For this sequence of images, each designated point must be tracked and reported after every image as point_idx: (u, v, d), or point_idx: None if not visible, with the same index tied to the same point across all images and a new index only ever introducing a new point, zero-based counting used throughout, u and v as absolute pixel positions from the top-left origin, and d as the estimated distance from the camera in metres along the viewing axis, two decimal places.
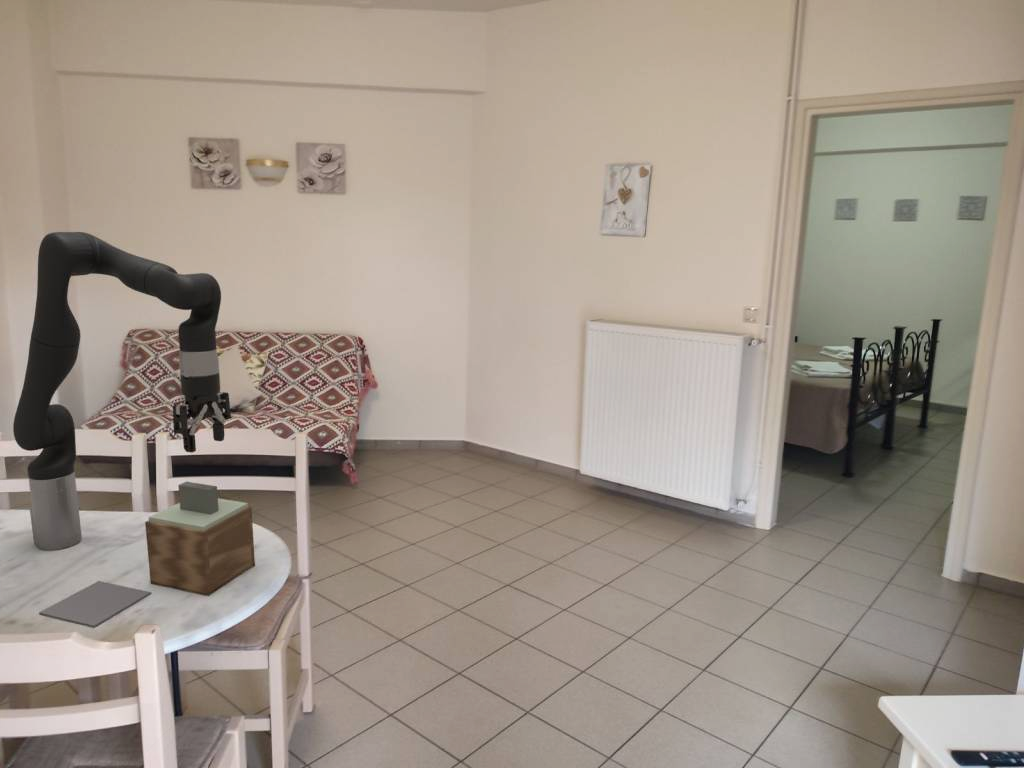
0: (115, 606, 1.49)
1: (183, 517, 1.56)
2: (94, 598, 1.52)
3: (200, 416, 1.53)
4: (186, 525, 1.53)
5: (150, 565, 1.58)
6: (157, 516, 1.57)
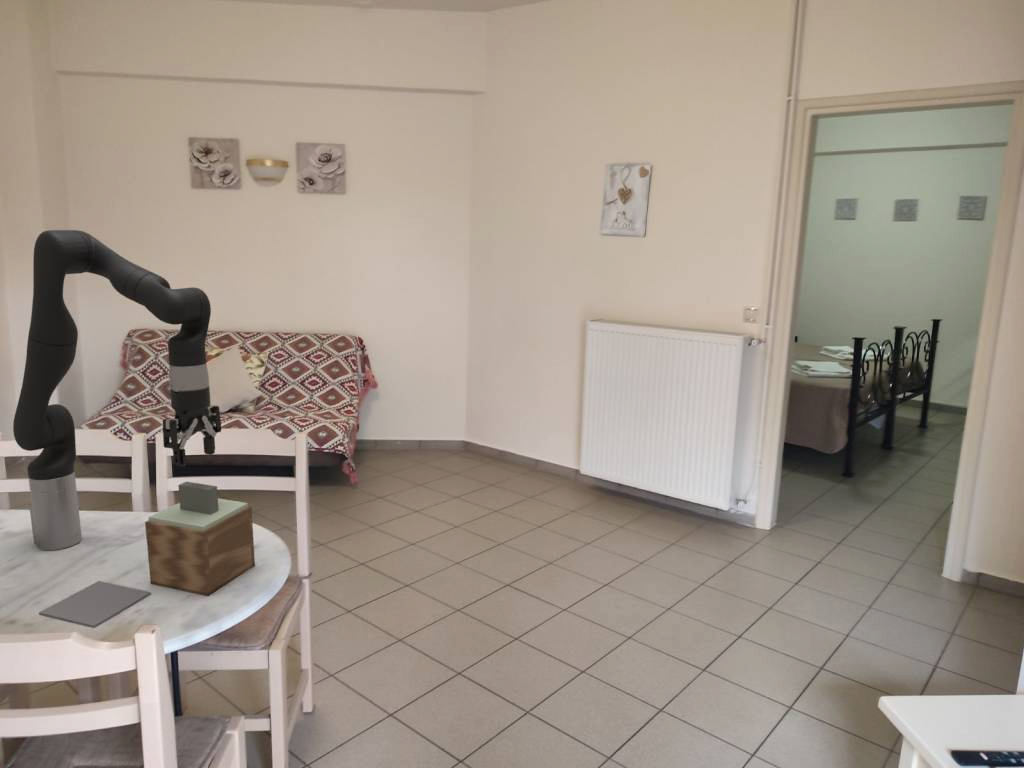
0: (115, 606, 1.49)
1: (183, 517, 1.56)
2: (94, 598, 1.52)
3: (190, 430, 1.53)
4: (186, 525, 1.53)
5: (150, 565, 1.58)
6: (157, 516, 1.57)
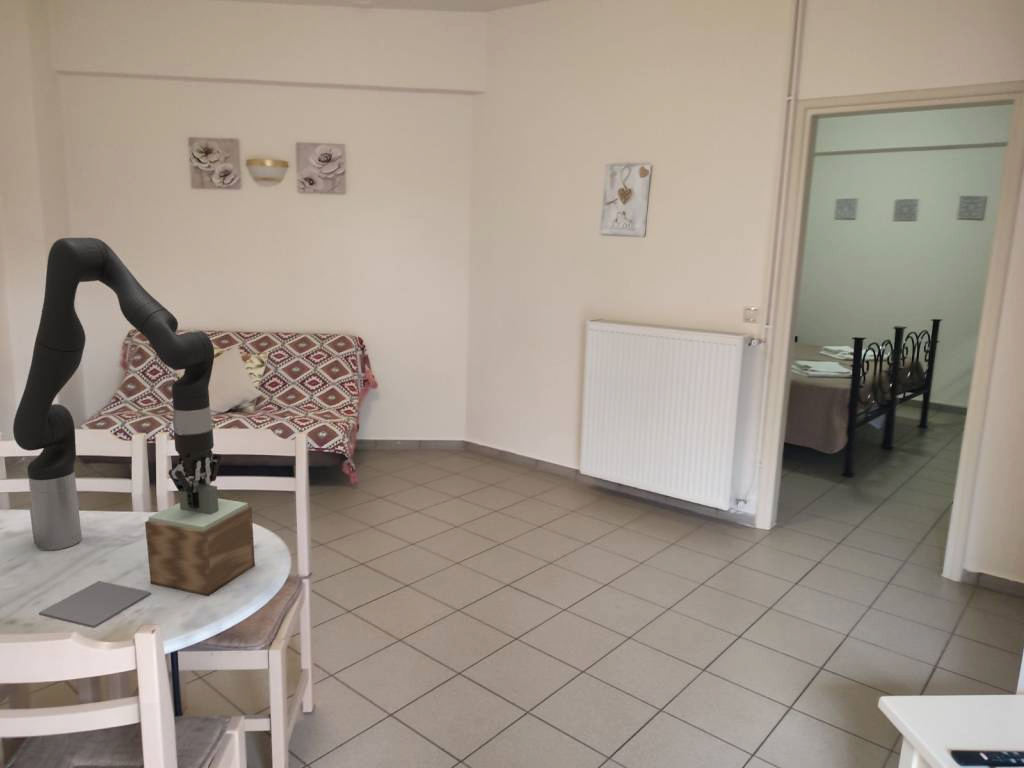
0: (115, 606, 1.49)
1: (183, 517, 1.56)
2: (94, 598, 1.52)
3: (197, 473, 1.56)
4: (186, 525, 1.53)
5: (150, 565, 1.58)
6: (157, 516, 1.57)
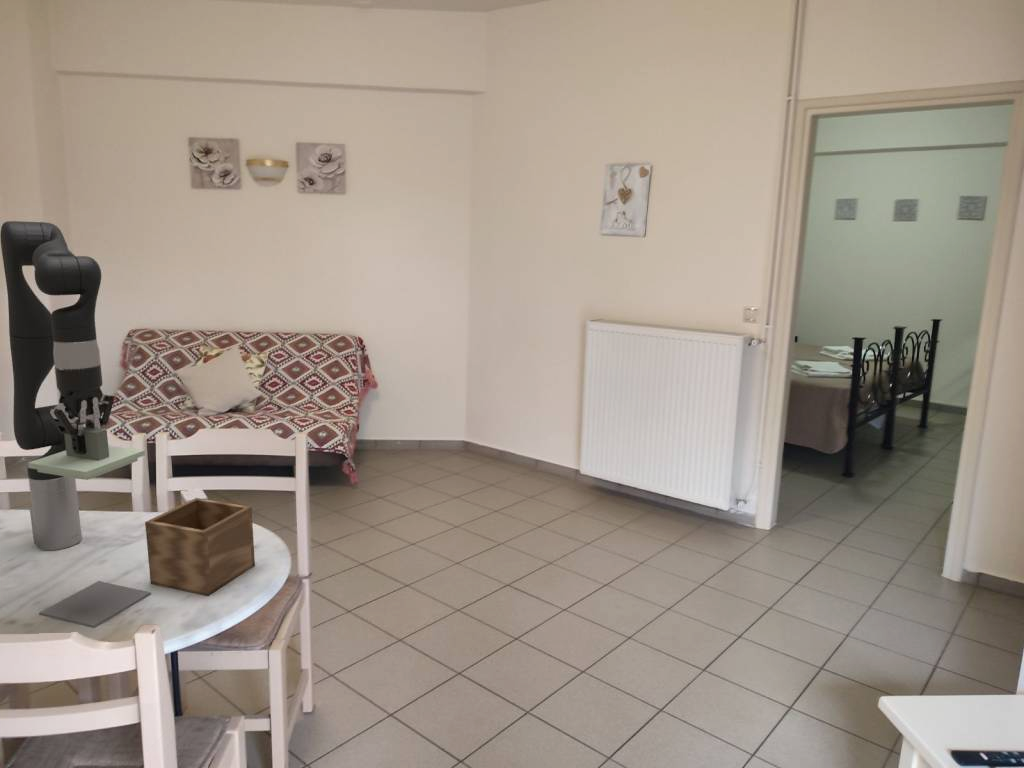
0: (115, 606, 1.49)
1: (67, 463, 1.40)
2: (94, 598, 1.52)
3: (82, 414, 1.40)
4: (68, 470, 1.37)
5: (150, 565, 1.58)
6: (38, 461, 1.41)
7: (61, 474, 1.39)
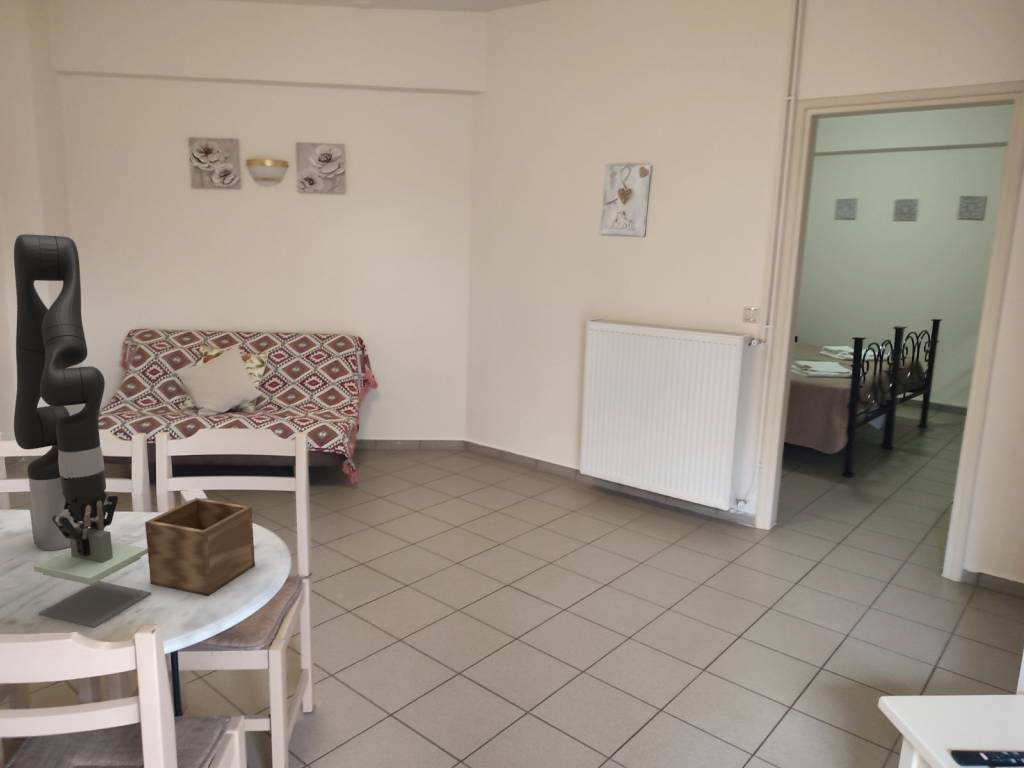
0: (115, 606, 1.49)
1: (71, 566, 1.44)
2: (94, 598, 1.52)
3: (87, 518, 1.44)
4: (72, 576, 1.41)
5: (150, 565, 1.58)
6: (44, 564, 1.44)
7: (66, 578, 1.43)
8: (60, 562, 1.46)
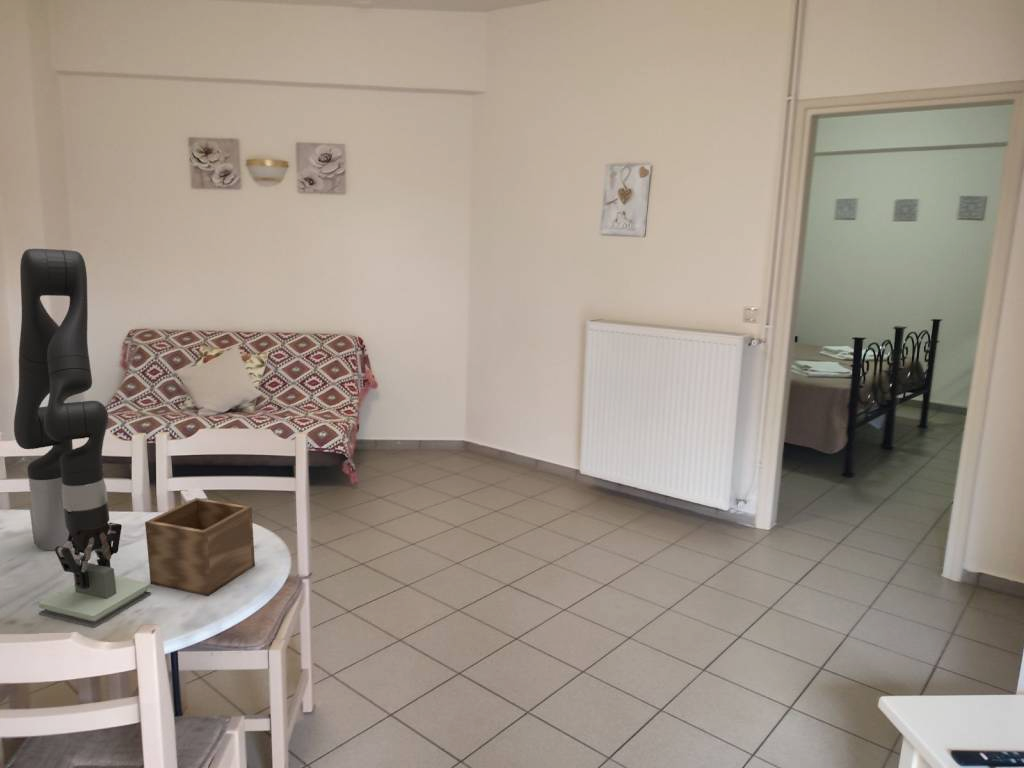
0: None
1: (75, 603, 1.46)
2: None
3: (88, 551, 1.45)
4: (76, 613, 1.42)
5: (150, 565, 1.58)
6: (48, 601, 1.46)
7: (70, 615, 1.45)
8: (64, 598, 1.47)
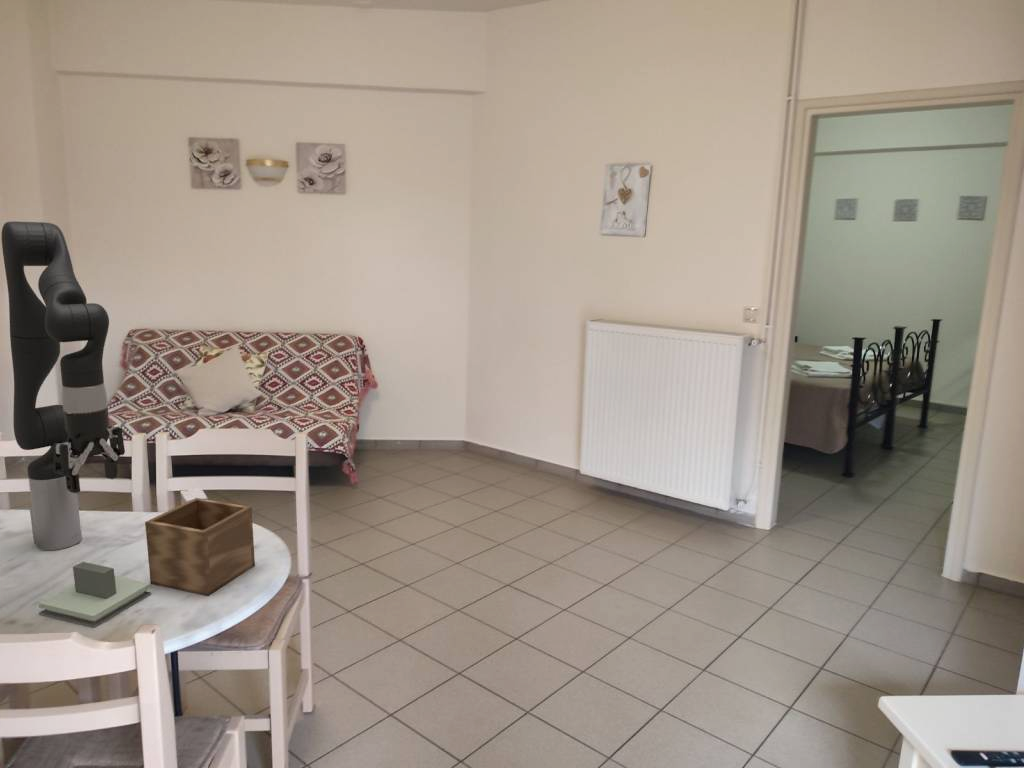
0: None
1: (75, 603, 1.46)
2: None
3: (85, 455, 1.44)
4: (76, 613, 1.42)
5: (150, 565, 1.58)
6: (48, 601, 1.46)
7: (70, 615, 1.45)
8: (64, 598, 1.47)
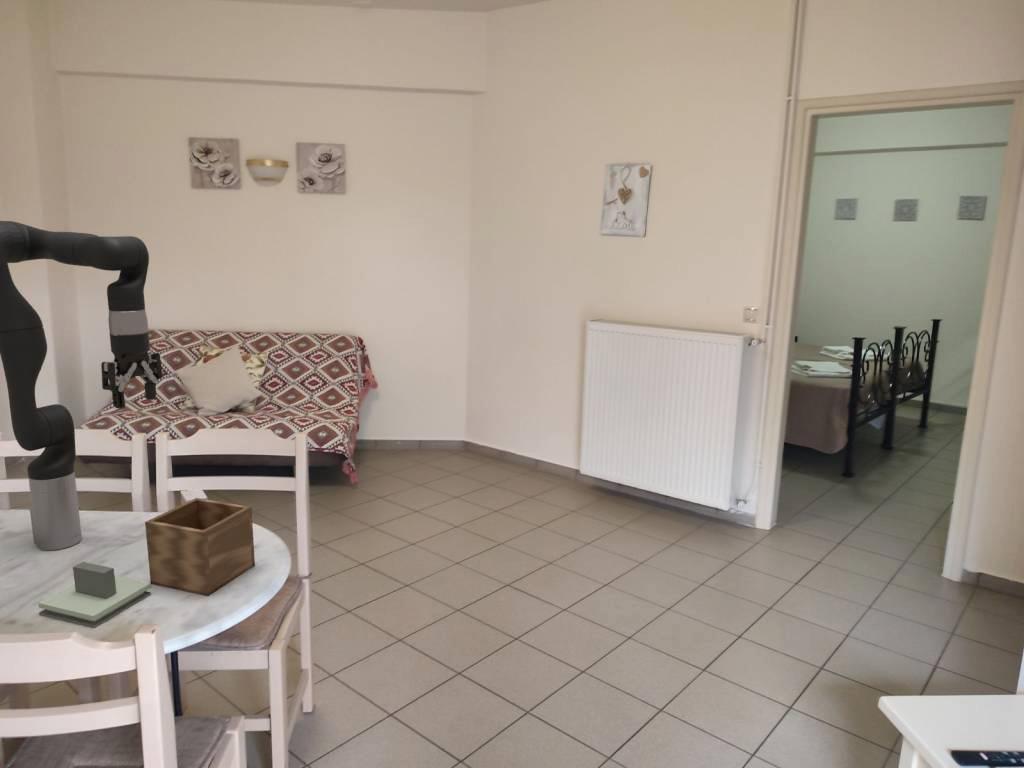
0: None
1: (75, 603, 1.46)
2: None
3: (129, 374, 1.60)
4: (76, 613, 1.42)
5: (150, 565, 1.58)
6: (48, 601, 1.46)
7: (70, 615, 1.45)
8: (64, 598, 1.47)
